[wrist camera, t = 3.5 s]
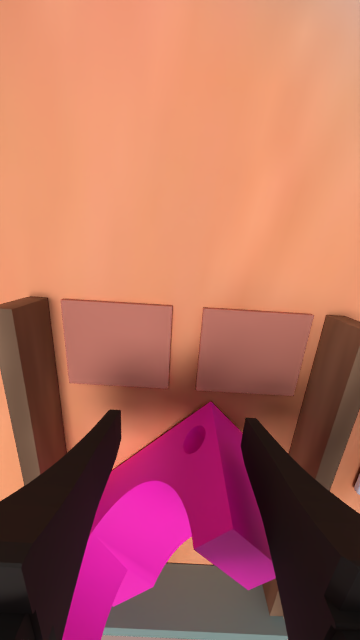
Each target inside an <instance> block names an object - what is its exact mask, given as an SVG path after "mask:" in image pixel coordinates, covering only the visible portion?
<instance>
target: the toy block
mask: <svg viewBox="0 0 360 640" xmlns="http://www.w3.org/2000/svg"><path fill="white" fill-rule="evenodd" d="M242 435H243V434H242V432H241V431H240V430H239V429H238V428H237V427H236V426H235V425H234V424H233V423H232V422H231V421H230V420H229V419H228V418H227V417H226V416H225V415H224V414H223V413H222V412H221V411H220V410H219V409H218V408H217V407H216V406H215V405H214V404H213V403H212V402H209V403H208V404H206V405H205V406H203V407H202V408H201V409H199V410H198V411H196V412H195V413H193V414H192V415H191V416H189V417H188V418H186V419H185V420H184V421H182V422H181V423H179V424H178V425H176V426H175V427H174V428H172V429H171V430H169V431H168V432H166V433H165V434H164V435H162V436H161V437H159V438H158V439H157V440H155V441H154V442H152V443H151V444H149V445H148V446H147V447H145V448H144V449H142V450H141V451H139V452H138V453H137V454H135V455H134V456H132V457H131V458H130V459H128V460H127V461H125V462H124V463H122V464H121V465H120V466H118V467H117V468H115V469H114V470H112V471H111V473H110V476H109V478H108V481H107V484H106V486H105V489H104V492H103V494H102V497H101V500H100V502H99V505H98V508H97V511H96V514H95V518H94V521H93V525H92V528H91V532H90V535H89V539H88V542H87V546H86V549H85V553H84V557H83V560H82V564H81V568H80V571H79V575H78V579H77V583H76V587H75V590H74V594H73V598H72V602H71V606H70V610H69V614H68V618H67V622H66V626H65V630H64V634H63V638H62V640H101V637H102V634H103V631H104V628H105V625H106V621H107V619H108V616H109V613H110V610H111V607H112V606H113V607H114V606H116V605H118V604H120V603H122V602H124V601H126V600H128V599H130V598H132V597H134V596H136V595H138V594H140V593H142V592H144V591H146V590H148V589H150V588H152V587H154V584H155V582H156V580H157V578H158V576H159V574H160V573H161V571H162V569H163V567H164V566H165V564H166V563H167V561H168V560H169V558H170V557H171V556H172V554H173V553H174V552H175V551H176V549H177V548H178V547H179V546H180V545H181V544H182V543H184V542H185V541H186V540H187V539H189V538H190V537H192V540H193V548H194V550H195V551H197V552H198V553H199V554H201V555H202V556H203V557H205V558H206V559H207V560H209V561H210V562H211V563H213V564H214V565H215V566H217V567H218V568H219V569H221V570H222V571H223V572H224V573H226V574H227V575H228V576H230V577H231V578H232V579H234V580H235V581H236V582H238V583H239V584H240V585H242V586H243V587H244V588H246V589H247V590H250V589H252V588H255V587H257V586H259V585H262V584H264V583H266V582H269V581H271V580H273V579H275V578H276V576H275V572H274V567H273V563H272V559H271V554H270V550H269V545H268V541H267V537H266V533H265V529H264V525H263V521H262V518H261V514H260V511H259V508H258V505H257V502H256V499H255V496H254V492H253V489H252V486H251V483H250V480H249V477H248V474H247V471H246V468H245V465H244V460H243V455H242V450H241V440H242Z"/></svg>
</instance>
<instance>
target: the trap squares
mask: <svg viewBox="0 0 360 640" xmlns="http://www.w3.org/2000/svg"><path fill="white" fill-rule="evenodd" d="M61 308H62V318H63V328H64V337H65V347H66V357H67V366H68V376H69V383H77V384H94V385H111V386H129V387H146V388H163V389H168V381H169V362H170V342H171V323H172V306H171V305H154V304H138V303H122V302H105V301H89V300H73V299H62V300H61ZM313 317H314V315H312V314H301V313H284V312H268V311H252V310H236V309H219V308H203V317H202V328H201V338H200V349H199V359H198V369H197V380H196V390H198V391H215V392H233V393H250V394H268V395H285V396H294V392H295V388H296V384H297V380H298V377H299V373H300V369H301V365H302V361H303V357H304V353H305V349H306V345H307V341H308V337H309V333H310V329H311V325H312V321H313Z"/></svg>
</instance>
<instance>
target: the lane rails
mask: <svg viewBox="0 0 360 640" xmlns="http://www.w3.org/2000/svg"><path fill="white" fill-rule="evenodd" d="M0 370H1V375H2V380H3V384H4V389H5V394H6V399H7V404H8V409H9V413H10V418H11V423H12V428H13V433H14V438H15V442H16V447H17V452H18V457H19V462H20V466H21V471H22V476H23V481H24V486H25V485H27V484H28V483H30V482H31V481H32V480H34V479H35V478H36V477H38V476H39V475H41V474H42V473H43V472H45V471H46V470H47V469H48V468H50V467H51V466H52V465H54V464H55V463H56V462H57V461H58V460H60V459H61V458H62V457H63V456H64V455H65V454H66V446H65V438H64V430H63V422H62V413H61V405H60V397H59V389H58V380H57V372H56V364H55V356H54V347H53V339H52V331H51V323H50V315H49V306H48V298H40V297H26V298H22V299H19V300H15V301H11V302H7V303H4V304H0ZM359 409H360V322H359V321H356V320H354V319H351V318H348V317H346V316H333V315H326V319H325V323H324V326H323V330H322V334H321V337H320V341H319V345H318V348H317V352H316V356H315V360H314V363H313V367H312V371H311V374H310V378H309V382H308V385H307V389H306V393H305V396H304V400H303V404H302V407H301V411H300V415H299V419H298V422H297V426H296V430H295V433H294V437H293V441H292V444H291V448H290V452H289V455H290V456H291V457H292V458H293V459H294V460H295V461H296V462H297V463H298V464H299V465H300V466H301V467H302V468H303V469H304V470H305V471H306V472H307V473H309V474H310V475H311V476H312V477H313V478H314V479H315V480H317V481H318V482H319V483H320V484H321V485H322V486H324V487H325V488H326V489H327V490H328V491H330V488H331V485H332V483H333V480H334V477H335V475H336V472H337V469H338V466H339V464H340V461H341V458H342V455H343V453H344V450H345V447H346V445H347V442H348V439H349V436H350V434H351V431H352V428H353V425H354V423H355V420H356V417H357V415H358V412H359ZM262 586H263V590H264V594H265V598H266V602H267V606H268V610H269V614H270V616H284V615H283V610H282V605H281V600H280V595H279V591H278V586H277V581H276V578H275V579H273V580H271V581H269V582H266V583H264V584H262Z"/></svg>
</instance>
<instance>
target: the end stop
mask: <svg viewBox="0 0 360 640" xmlns="http://www.w3.org/2000/svg"><path fill="white" fill-rule="evenodd" d="M102 635H113V636H134V637H135V636H136V637H156V638H157V637H158V638H178V639H201V640H288V636H287V631H286V625H285V620H284V617H283V616H270V614H269V610H268V606H267V602H266V598H265V594H264V590H263V586H262V585H259V586H257V587H255V588H252V589H250V590H247V589H246V588H244V587H243V586H242V585H240V584H239V583H238V582H236V581H235V580H234V579H232V578H231V577H230V576H228V575H227V574H226V573H224V572H223V571H222V570H221V569H219V568H218V567H217V566H214V565H194V564H173V563H166V564H165V566H164V567H163V569H162V571H161V573H160V574H159V576H158V578H157V580H156V582H155V584H154V587H152V588H150V589H148V590H146V591H144V592H142V593H140V594H138V595H136V596H134V597H132V598H130V599H128V600H126V601H124V602H122V603H120V604H118V605H116V606H114V607H113V606H112V607H111V610H110V613H109V616H108V619H107V621H106V625H105V628H104V631H103V634H102Z"/></svg>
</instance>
